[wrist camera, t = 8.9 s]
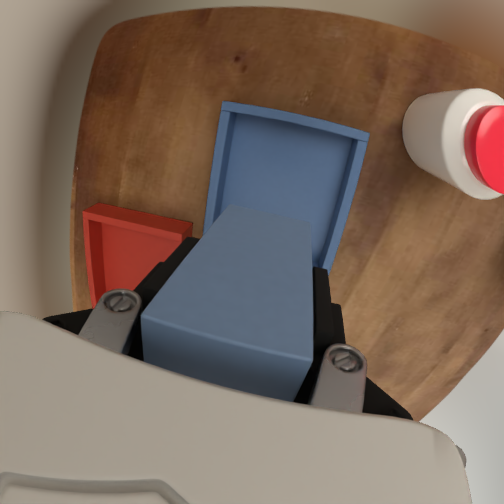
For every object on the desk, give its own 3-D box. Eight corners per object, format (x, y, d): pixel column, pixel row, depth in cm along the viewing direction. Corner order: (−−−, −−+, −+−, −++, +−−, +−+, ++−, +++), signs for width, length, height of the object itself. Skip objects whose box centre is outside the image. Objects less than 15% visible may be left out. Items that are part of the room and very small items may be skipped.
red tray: (98, 202, 30) (82, 211, 27) (193, 223, 29) (182, 234, 27) (104, 300, 36) (93, 313, 33) (184, 326, 35) (176, 342, 33)
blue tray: (231, 102, 24) (222, 100, 21) (362, 131, 23) (370, 133, 20) (209, 241, 30) (200, 254, 27) (324, 268, 29) (325, 284, 26)
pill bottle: (472, 101, 19) (546, 105, 10) (468, 179, 23) (536, 217, 13) (401, 86, 21) (460, 72, 11) (399, 171, 24) (453, 206, 14)
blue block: (229, 203, 14) (139, 314, 6) (310, 222, 14) (314, 360, 6) (218, 274, 16) (148, 408, 8) (291, 291, 16) (272, 442, 8)
